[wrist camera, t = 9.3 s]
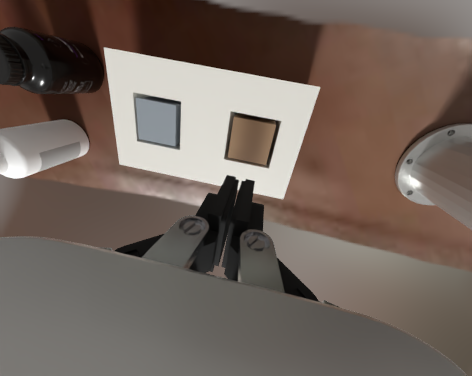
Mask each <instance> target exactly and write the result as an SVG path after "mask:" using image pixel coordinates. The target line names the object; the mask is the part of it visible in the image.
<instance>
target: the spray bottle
mask: <svg viewBox="0 0 472 376" xmlns="http://www.w3.org/2000/svg"><path fill="white" fill-rule="evenodd" d="M88 150H89V140H88V137H87V135H86V133H85V132H84V131H83V129H82V128H81V127H80V126H79V125H77V124H76V123H74V122H72V121H70V120H65V119H62V120H55V121H49V122H43V123H36V124H30V125H23V126H17V127H10V128H4V129H0V174H2V175H4V176H6V177H10V178H15V179H16V178H23V177H26V176H29V175H32V174H34V173H37V172H40V171H42V170H45V169H48V168H50V167H53V166H56V165H59V164H61V163H64V162H67V161H69V160H72V159H75V158H78V157H80V156H83V155H84V154H86V153H87V151H88Z"/></svg>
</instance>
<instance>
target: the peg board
mask: <svg viewBox="0 0 472 376" xmlns="http://www.w3.org/2000/svg"><path fill="white" fill-rule="evenodd" d="M104 53H105V60H106V68H107V75H108V82H109V90H110V97H111V105H112V112H113V119H114V127H115V134H116V142H117V149H118V157H119V164H121V165H125V166H130V167H135V168H139V169H144V170H149V171H153V172H158V173H163V174H167V175H172V176H177V177H181V178H186V179H191V180H195V181H200V182H205V183H209V184H214V185H219V186H222V184H223V182H224V180H225V178H226V176H227V175H230V176H234V177H236V179H237V180H239V183H238V189H237V190H239V189H240V185H241V182H242V181H246V179H248V180H253V181H255V184H254V191H253V193H256V194H261V195H265V196H270V197H275V198H279V199H283V198H284V195H285V192H286V189H287V186H288V183H289V180H290V177H291V174H292V171H293V168H294V165H295V162H296V159H297V156H298V153H299V150H300V147H301V144H302V141H303V138H304V135H305V132H306V129H307V126H308V123H309V120H310V117H311V114H312V111H313V108H314V105H315V102H316V99H317V96H318V93H319V90H320V87H316V86H311V85H306V84H300V83H295V82H289V81H284V80H278V79H273V78H267V77H262V76H257V75H251V74H246V73H240V72H235V71H229V70H224V69H218V68H213V67H208V66H202V65H197V64H191V63H186V62H180V61H175V60H170V59H164V58H159V57H153V56H148V55H142V54H137V53H131V52H126V51H121V50H115V49H110V48H104ZM150 96H155V97H160V98H165V99H170V100H176V101H181V128H180V144H178V145H177V146H171V145H166V144H161V143H156V142H151V141H146V140H142V139H139V135H138V122H137V109H136V98H137V97H150ZM238 113H242V114H248V115H253V116H258V117H263V118H268V119H273V120H275V122H276V128H275V132H274V136H273V140H272V144H271V148H270V151H269V155H268V159H267V163H266V165H263V164H258V163H253V162H248V161H243V160H239V159H234V158H229V157H228V152H229V145H230V139H231V132H232V125H233V119H234V116H235V115H236V114H238Z"/></svg>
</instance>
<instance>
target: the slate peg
mask: <svg viewBox="0 0 472 376" xmlns="http://www.w3.org/2000/svg"><path fill="white" fill-rule="evenodd" d="M136 109H137V122H138V135H139V139H142V140H146V141H151V142H156V143H161V144H166V145H171V146H177V145H178V144H180V128H181V101H176V100H170V99H165V98H160V97H155V96H150V97H137V98H136Z"/></svg>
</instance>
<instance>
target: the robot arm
mask: <svg viewBox="0 0 472 376" xmlns="http://www.w3.org/2000/svg"><path fill="white" fill-rule="evenodd" d="M395 182H396V186H397V188H398V189H399V191H400V192H401V193H402V194H403V195H404V196H405V197H407V198H408V199H409V200H411V201H413V202H416V203H419V204H424V205H437V206H438V207H439V208H441V209H442V210H444V211H445V212H447V213H448V214H450V215H451V216H452V217H454V218H455V219H457V220H458V221H460V222H461V223H462V224H464V225H465V226H467V227H468V228H470V229H471V230H472V124H454V125H448V126H445V127H442V128H439V129H436V130H434V131H432V132H430V133H428V134H426V135H425V136H423V137H422V138H420V139H418V140H417V141H416V142H415V143H414V144H412V145H411V146H410V147H409V148H408V150H407V151H406V152H405V153H404V154H403V156H402V157H401V159H400V160H399V163H398V165H397V167H396V172H395ZM238 183H239V180H237V179H236V177H234V176H230V175H227V176H226V178H225V180H224V182H223V184H222V186H221V188H220V190H219V192H218V194H212V193H208V194H207V196H206V198H205V200H204V201H203V203H202V205H201V207H200V208H199V210H198V212H197V214H196V215H195V216H185V217H183V218H181V219H179V220H178V221H177V222H176V223H175V224H174V225H173V226H172V227H171V228H170V229H169V230H168V231H167V232H166V233H165V234H162V235H159V236H156V237H152V238H149V239H146V240H142V241H139V242H136V243H133V244H130V245H126V246H123V247H121V248H118V249H116V250H115V251H112V249H111V248H98V247H93V246H89V245H84V244H79V243H73V242H69V241H64V240H59V239H51V238H43V237H23V236H22V237H1V238H0V376H467V375H466V374H465V373H464V372H463V371H462V370H461V369H460V368H459V367H458V366H457V365H456V364H455V363H453V362H452V361H451V360H450V359H449V358H447V357H446V356H444V355H443V354H442V353H440V352H439V351H438V350H436V349H435V348H433V347H431V346H430V345H429V344H427V343H425V342H423V341H422V340H420V339H418V338H416V337H415V336H413V335H411V334H409V333H408V332H406V331H404V330H401V329H399V328H397V327H395V326H393V325H391V324H388V323H386V322H383V321H380V320H378V319H375V318H372V317H370V316H367V315H364V314H360V313H357V312H353V311H350V310H346V309H343V308H340V307H338V306H335V305H333V304H331V303H329V302H327V301H323V302H320V301H318V299H317V298H316V296H315V295H314V294H313V293H312V292H311V291H310V290H309V289H308V288H307V287H306V286H305V285H304V284H303V283H302V282H301V281H300V280H299V279H298V278H297V277H296V276H295V275H294V274H293V273H292V272H291V271H290V270H289V269H288V268H287V267H286V266H285V265H284V264H283V263H282V262H281V261H280V260H279V259H278V258H277V256H276V252H275V248H274V244H273V241H272V239H271V238H270V236H269V235H267V234H266V233H264V232H263V214H264V205H262V204H258V203H253V202H252V197H253V191H254V184H255V181H253V180H248V179H246V181H242V182H241V185H240V189H239V192H238V195H237V199H236V194H237V189H238ZM235 199H236V202H235ZM234 204H235V206H234ZM227 234H228V236H227ZM226 238H227V241H226ZM225 241H226V246H225V252H224V257H223V262H222V267H224V268H225V273H224V274H225V275H226V277H227V278H228V279H226V278H222V277H218V276H214V275H210V274H206V272H208V271H211V272H212V271H213V268H214V265H216V266H219V262H220V259H221V255H222V252H223V248H224V245H225Z"/></svg>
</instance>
